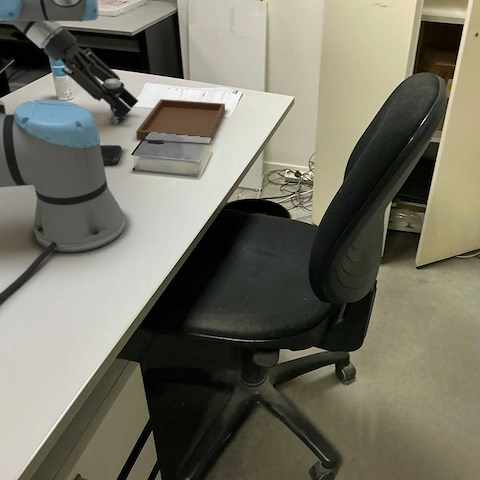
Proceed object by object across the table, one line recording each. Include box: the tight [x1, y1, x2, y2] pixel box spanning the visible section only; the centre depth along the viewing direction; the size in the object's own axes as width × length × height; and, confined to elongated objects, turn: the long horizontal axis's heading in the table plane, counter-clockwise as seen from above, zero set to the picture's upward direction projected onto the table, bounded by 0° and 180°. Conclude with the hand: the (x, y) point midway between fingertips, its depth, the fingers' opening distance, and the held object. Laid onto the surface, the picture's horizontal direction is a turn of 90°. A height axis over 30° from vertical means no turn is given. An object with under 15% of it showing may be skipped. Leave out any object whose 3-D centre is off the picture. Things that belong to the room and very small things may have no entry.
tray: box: [136, 98, 226, 141], centre depth 142 cm, size 22×18×2 cm
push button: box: [101, 79, 126, 125], centre depth 139 cm, size 7×5×10 cm
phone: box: [100, 144, 123, 166], centre depth 124 cm, size 8×1×15 cm
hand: (131, 108), depth 141 cm, fingers closed on push button, 5 cm apart
